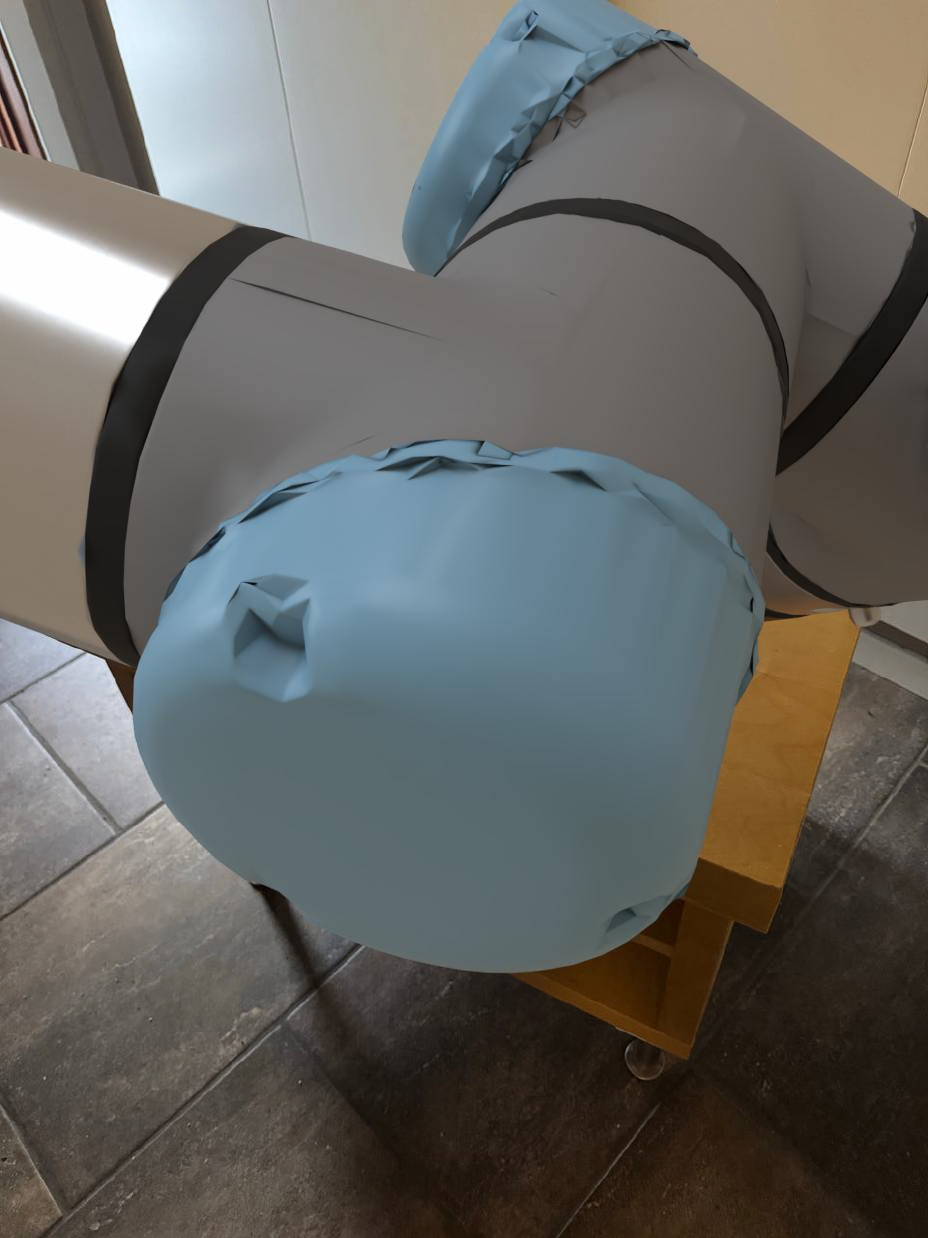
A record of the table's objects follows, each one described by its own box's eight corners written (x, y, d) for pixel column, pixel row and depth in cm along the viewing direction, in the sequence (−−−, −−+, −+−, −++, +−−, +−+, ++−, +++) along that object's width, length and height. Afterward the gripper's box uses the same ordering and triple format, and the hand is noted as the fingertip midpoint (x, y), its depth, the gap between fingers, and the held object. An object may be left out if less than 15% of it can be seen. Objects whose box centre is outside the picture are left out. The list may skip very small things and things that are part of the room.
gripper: (493, 707, 32) (424, 694, 53) (1105, 532, 36) (816, 584, 57) (436, 496, 32) (390, 566, 53) (1053, 345, 36) (783, 466, 57)
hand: (610, 575), depth 55 cm, fingers open, 13 cm apart
